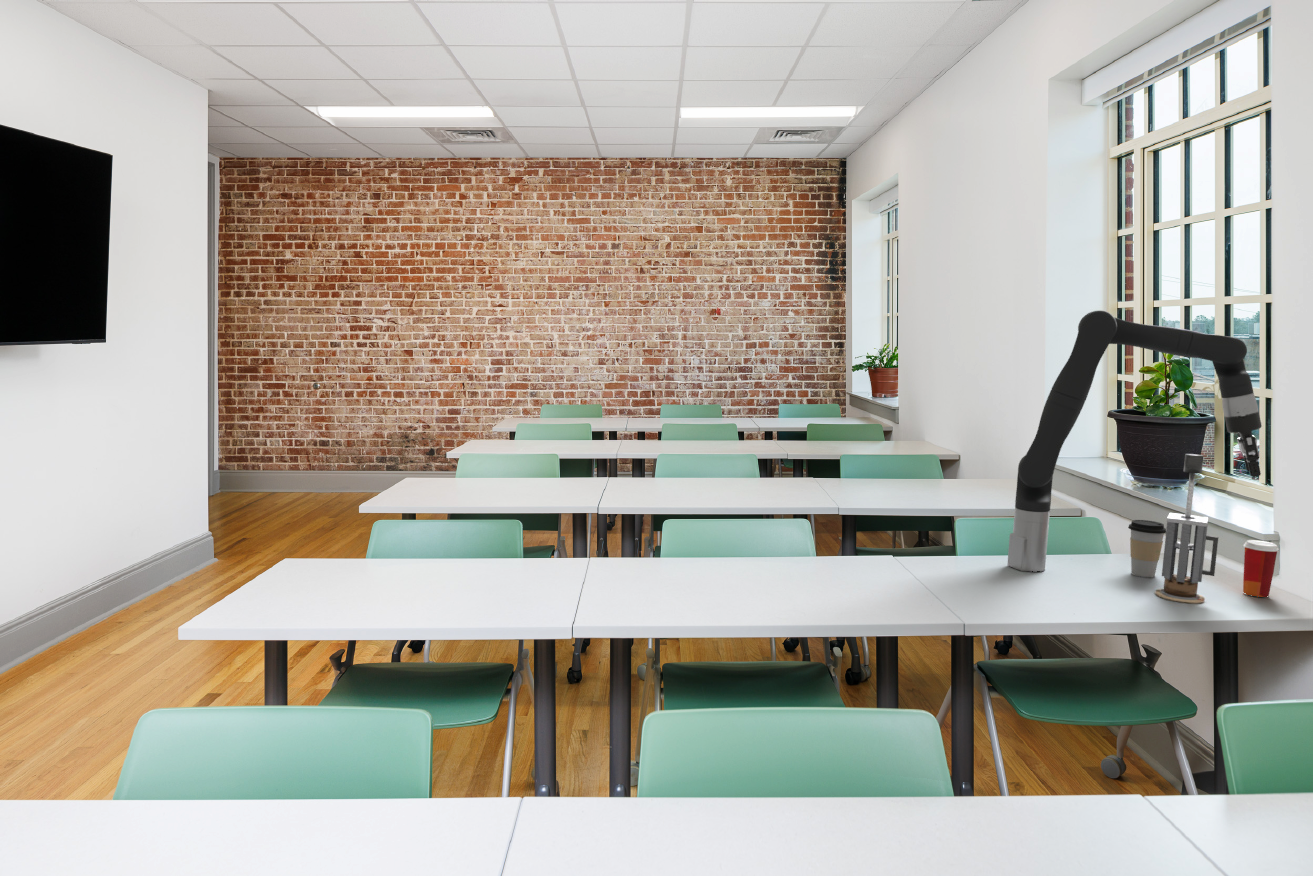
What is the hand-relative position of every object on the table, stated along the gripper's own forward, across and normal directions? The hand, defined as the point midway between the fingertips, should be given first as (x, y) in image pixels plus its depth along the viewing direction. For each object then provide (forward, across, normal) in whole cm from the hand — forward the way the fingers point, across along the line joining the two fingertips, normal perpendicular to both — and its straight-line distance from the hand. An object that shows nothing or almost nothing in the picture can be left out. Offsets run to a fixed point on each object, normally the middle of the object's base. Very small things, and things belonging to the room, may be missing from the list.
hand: (1253, 473), depth 228 cm
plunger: (+14, +14, -19) cm, 27 cm away
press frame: (+27, +14, -22) cm, 38 cm away
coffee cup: (+26, -6, -30) cm, 40 cm away
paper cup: (+32, 0, -5) cm, 33 cm away
